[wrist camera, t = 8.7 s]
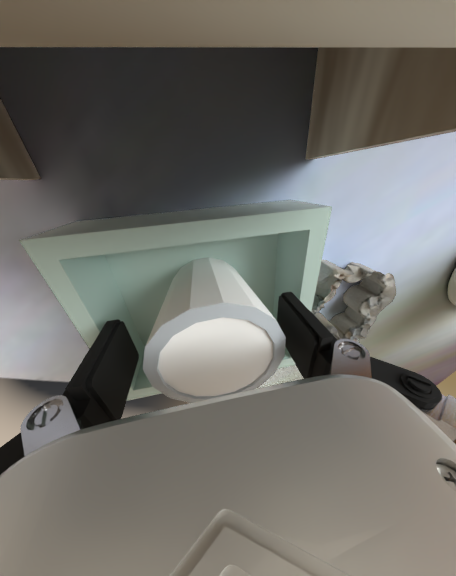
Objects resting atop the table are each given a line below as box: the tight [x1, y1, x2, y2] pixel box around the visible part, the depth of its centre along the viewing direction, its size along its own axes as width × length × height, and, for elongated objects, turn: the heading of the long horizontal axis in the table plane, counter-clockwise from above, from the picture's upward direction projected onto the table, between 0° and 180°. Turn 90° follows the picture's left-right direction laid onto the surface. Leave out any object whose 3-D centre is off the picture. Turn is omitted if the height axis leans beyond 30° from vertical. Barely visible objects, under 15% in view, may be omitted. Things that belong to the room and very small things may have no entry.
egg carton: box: [311, 260, 396, 343], centre depth 17 cm, size 11×8×4 cm
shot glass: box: [143, 257, 286, 403], centre depth 12 cm, size 7×7×7 cm
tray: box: [19, 200, 332, 401], centre depth 13 cm, size 14×12×4 cm
